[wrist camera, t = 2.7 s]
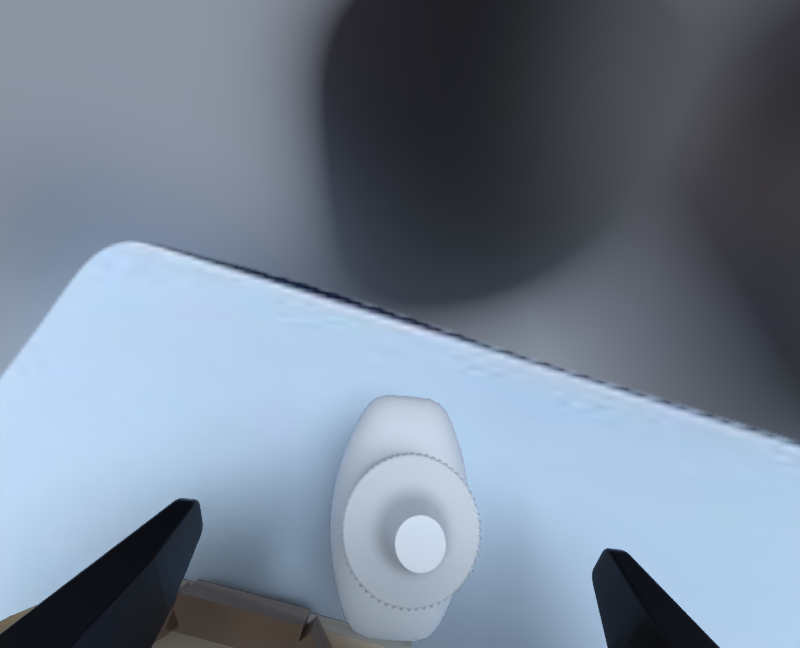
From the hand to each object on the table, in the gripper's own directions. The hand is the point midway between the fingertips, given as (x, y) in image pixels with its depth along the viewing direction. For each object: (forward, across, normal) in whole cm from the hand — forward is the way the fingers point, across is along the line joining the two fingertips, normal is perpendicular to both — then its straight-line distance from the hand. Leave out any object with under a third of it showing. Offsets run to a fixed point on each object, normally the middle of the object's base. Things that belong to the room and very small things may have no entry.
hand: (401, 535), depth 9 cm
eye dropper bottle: (+6, 0, +6) cm, 8 cm away
